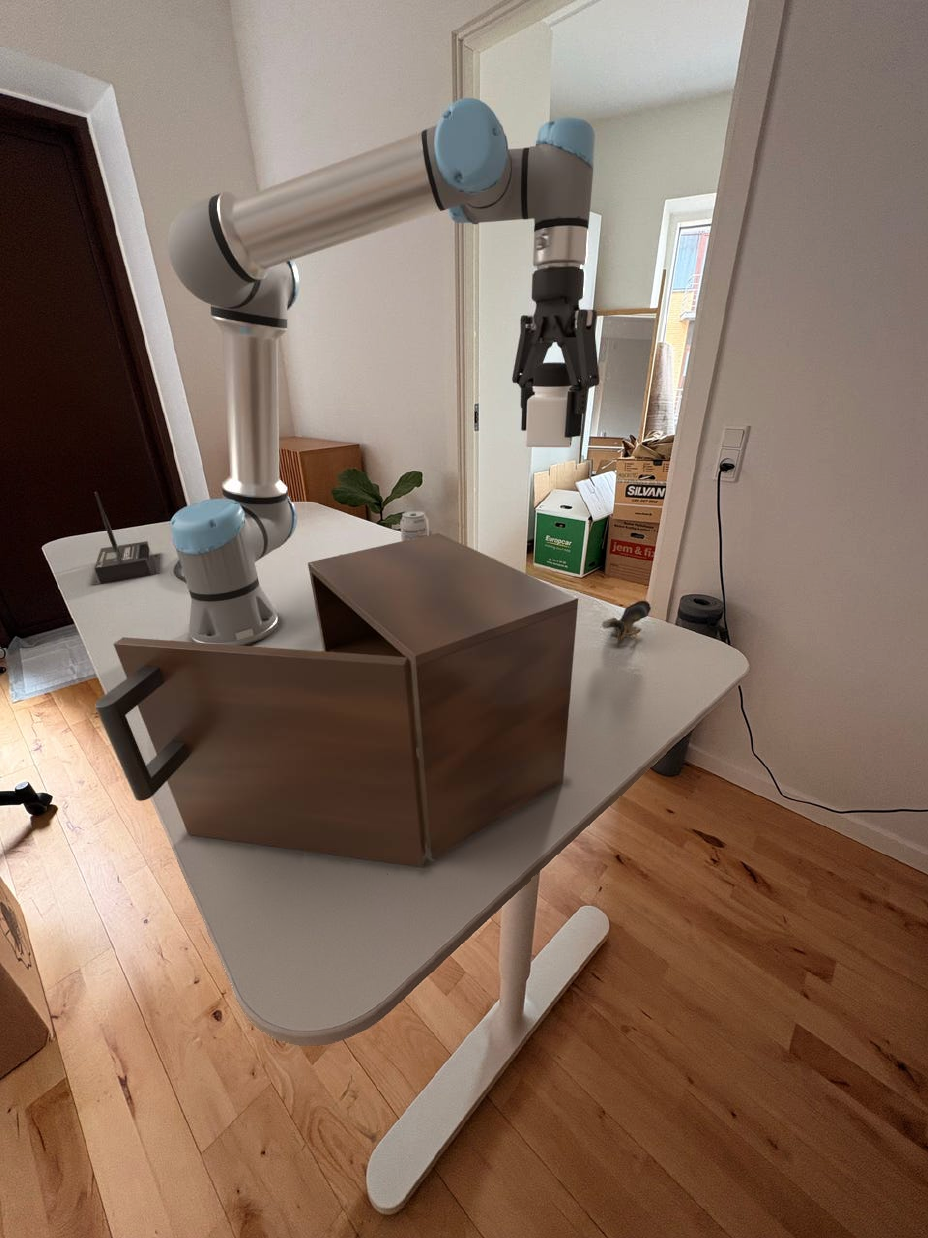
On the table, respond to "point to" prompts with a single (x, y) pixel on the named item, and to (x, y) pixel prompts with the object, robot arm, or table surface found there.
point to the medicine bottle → (548, 406)
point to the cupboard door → (275, 745)
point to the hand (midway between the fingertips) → (549, 432)
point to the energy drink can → (414, 525)
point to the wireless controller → (123, 559)
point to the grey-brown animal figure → (628, 621)
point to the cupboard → (461, 670)
